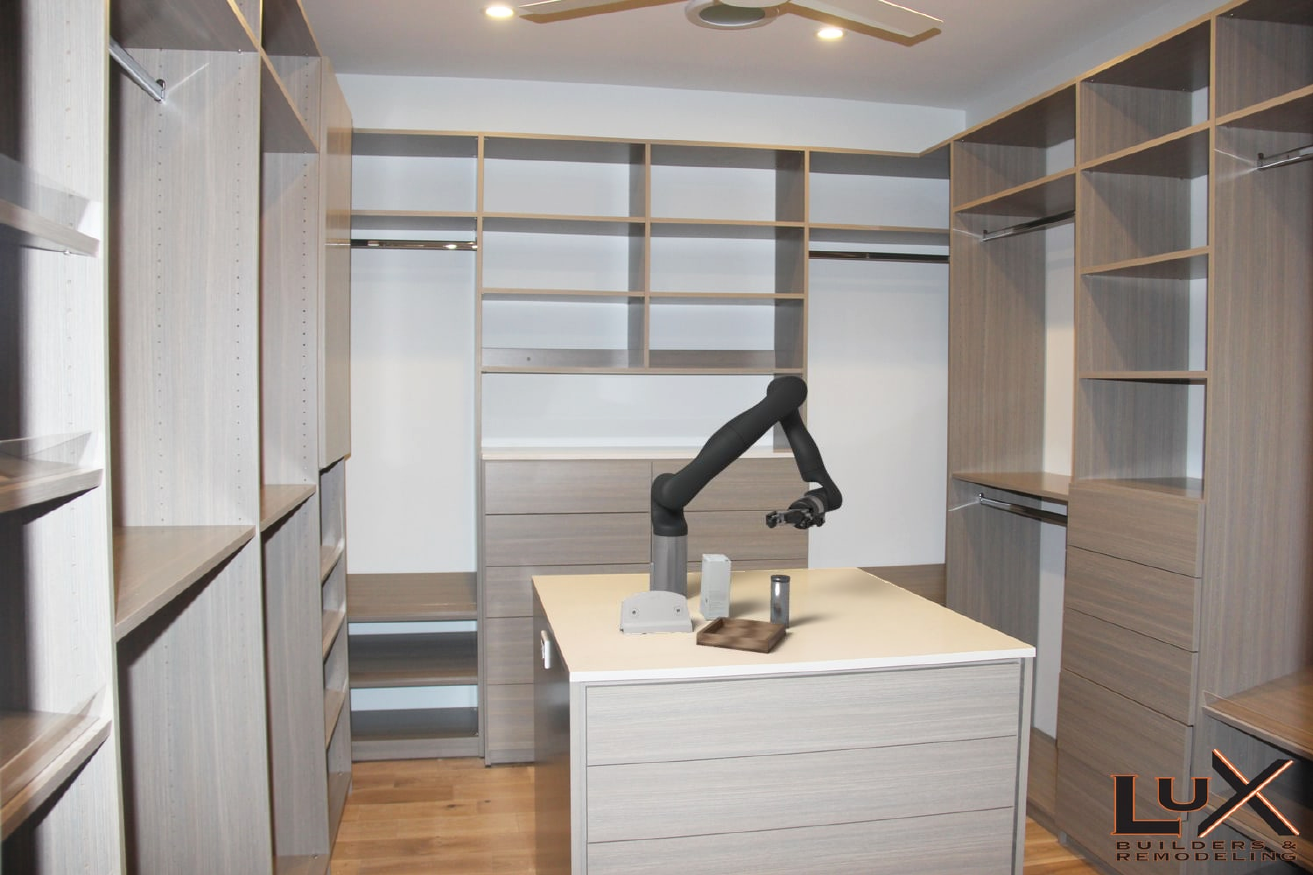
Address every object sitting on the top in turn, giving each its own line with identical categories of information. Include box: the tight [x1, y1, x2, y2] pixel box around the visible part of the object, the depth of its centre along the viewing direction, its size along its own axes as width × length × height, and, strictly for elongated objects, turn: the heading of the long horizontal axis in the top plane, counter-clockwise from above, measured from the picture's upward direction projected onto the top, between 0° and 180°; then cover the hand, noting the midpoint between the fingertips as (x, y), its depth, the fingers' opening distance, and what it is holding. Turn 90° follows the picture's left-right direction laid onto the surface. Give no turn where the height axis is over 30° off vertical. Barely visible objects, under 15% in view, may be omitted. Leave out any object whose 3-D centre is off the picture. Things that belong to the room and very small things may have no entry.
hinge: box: [619, 590, 693, 635], centre depth 210 cm, size 17×5×10 cm, turn 102°
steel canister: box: [769, 574, 791, 630], centre depth 213 cm, size 5×5×12 cm
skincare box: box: [699, 553, 732, 621], centre depth 222 cm, size 8×6×15 cm
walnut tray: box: [695, 616, 787, 654], centre depth 202 cm, size 16×16×2 cm
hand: (787, 524), depth 222 cm, fingers open, 8 cm apart
